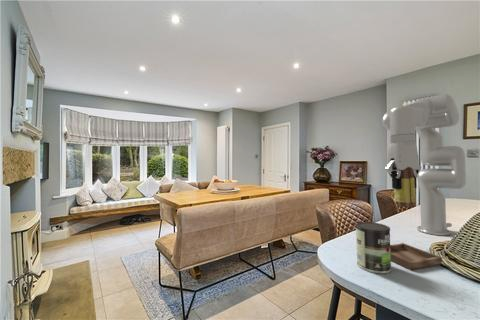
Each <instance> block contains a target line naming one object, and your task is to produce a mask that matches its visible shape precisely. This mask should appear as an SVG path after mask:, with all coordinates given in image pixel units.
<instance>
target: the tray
mask: <svg viewBox="0 0 480 320" xmlns="http://www.w3.org/2000/svg"><path fill="white" fill-rule="evenodd" d="M390 257H391V262H392V263H394V264H396V265H398V266H401V267H402V268H405V269H407V270H408V271H416V270H422V269H426V268H432V267H437V266H442V265H441V262H442V263H443V256H439V255H437V254H433V253H432V252H429V251H425V250H422V249H421V248H418V247H414V246H412V245H409V244H406V243H404V242H402V243H401V242H400V243H394V244H390Z"/></svg>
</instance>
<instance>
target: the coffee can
mask: <svg viewBox="0 0 480 320" xmlns="http://www.w3.org/2000/svg"><path fill="white" fill-rule="evenodd" d="M355 230H356V231H355V233H356V236H355V237H356V238H355V239H356V240H355V241H356V265H357V266H358V267H359V268H360V269H362V270H364V271H367V272H369V273H373V274H382V275H383V274H390V272H392V263H391V262H392V261H391V257H390V245H391V227H390V226H388V225H386V224H383V223H377V222H372V221H371V222H368V221H364V222H363V221H360V222H357V223H355Z"/></svg>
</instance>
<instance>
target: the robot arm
mask: <svg viewBox="0 0 480 320" xmlns="http://www.w3.org/2000/svg"><path fill="white" fill-rule="evenodd" d="M454 99H455V98H453V97H452V96H451V95H450V94H446V93H445V94H444V93H443V94H439V95H434V96H429V97H423V98H419V99H417V100H415V101H414V102H412V103H409V104H406V105H401V106H396V107H393V108H391V109H390V110H389V111H387V112H385V113H384V115H383V116H382V120H381V121H382V122H381V124H382V127H383V128H384V129H385V130H387V131H389V135H390V144H388V148H387V155H386V166H385V168H384V169H385V171H386V172H387V173H388V175H389V176H390V178H391V188H392V189H393V190H394V189H402V185H401V178H400V175H401V171H403V170H405V169H406V168H407V167H411V168H412V169H413V172H414V181H415V189H417V183H418V188H419V205H420V206H419V207H420V208H419V209H420V225H419V226H417V228H416V229H417V231H419V232H421V233H424V234H428V235H433V236H435V235H436V236H450V235H452V232H451V230H449V229H448V228H450V227H451V228H452V225H453V224H452V223H451V222H447V213H446V212H447V211H446V197H445V195H444V193H443V192H442V191H441V190H440V189H449V190H452V189H453V190H460V189H463V188H465V186H466V182H467V180H466V179H467V177H466V176H467V175H466V156H465V155H466V154H465V151H464V149H463V148H462V147H461V146H459V145H458V146H457V145H448V146H447V145H445V146H444V145H443V141H444V140H443V135H442V134H441V133H440V132H439V131H437V130H436V129H440V128H450V127H454V126H456V125H457V124H458V123H459V120H460V115H459V111H458V110H459V109H458V107H457V104H456V101H455V100H454ZM416 133H417V135H418V137H419V140H420V145H419V147H420V159H419V151H418V147H417V143H416V142H417V141H416ZM419 160H420V161H421V163H422V164H423V165H424V166H430V167H431V166H432V167H451V168H424V169H422V166H421V165H420V164H419V163H420V161H419ZM395 172H397V174H396V173H395Z"/></svg>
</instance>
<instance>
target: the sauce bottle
mask: <svg viewBox="0 0 480 320" xmlns="http://www.w3.org/2000/svg"><path fill="white" fill-rule="evenodd" d="M395 173H396V174H397V172H395ZM400 178H401V185H402V189H393V193H394V202H395V204H396V206H399V207H405V208H407V207H408V208H412V207H415V206H416V201H417V199H416V197H417V196H416V188H415V181H414V172H413V169H412V168H411V167H407V168H406V169H405V170H403V171H401V175H400Z"/></svg>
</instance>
